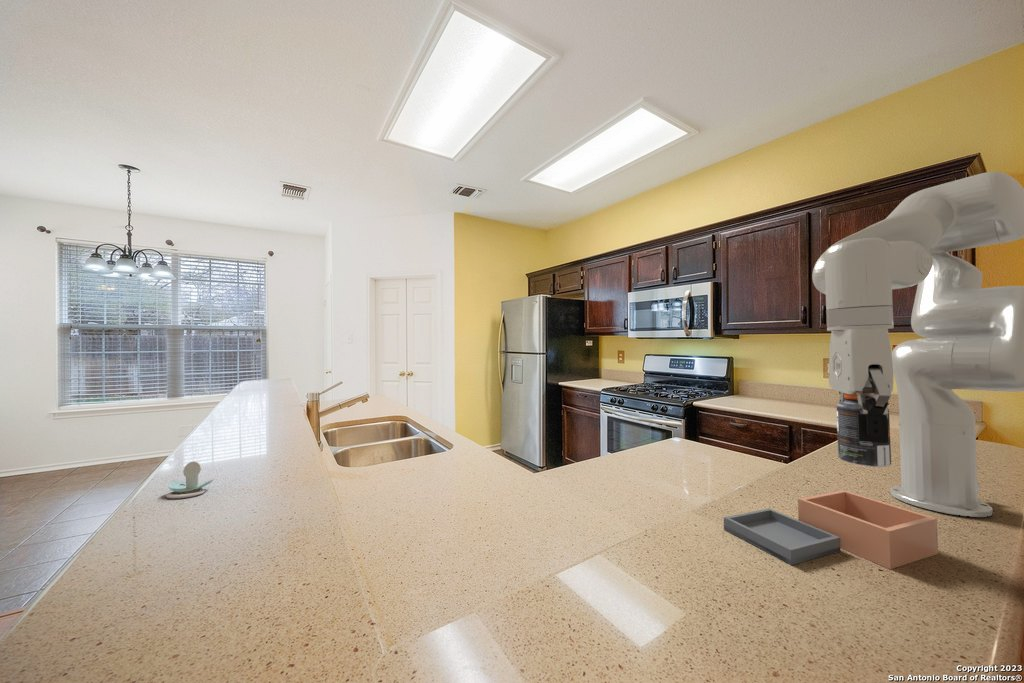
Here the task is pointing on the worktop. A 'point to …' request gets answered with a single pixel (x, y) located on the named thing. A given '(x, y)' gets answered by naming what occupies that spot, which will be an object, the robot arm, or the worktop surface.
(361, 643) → the worktop surface
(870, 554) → the frame
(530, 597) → the worktop surface
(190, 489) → the pacifier
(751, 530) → the charcoal tray
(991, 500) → the worktop surface
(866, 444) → the pill bottle
